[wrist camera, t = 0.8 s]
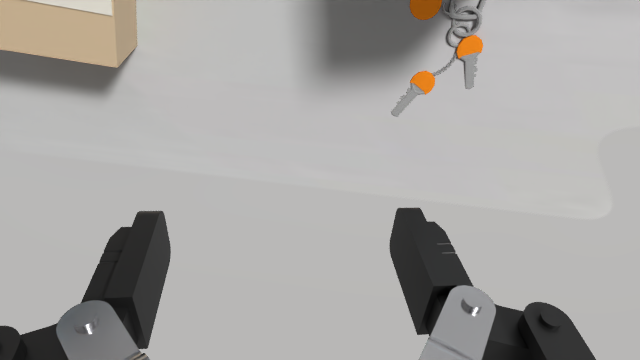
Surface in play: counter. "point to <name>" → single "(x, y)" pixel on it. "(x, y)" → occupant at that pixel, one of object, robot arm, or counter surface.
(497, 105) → the counter surface
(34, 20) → the kraft carton
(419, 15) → the key chain
